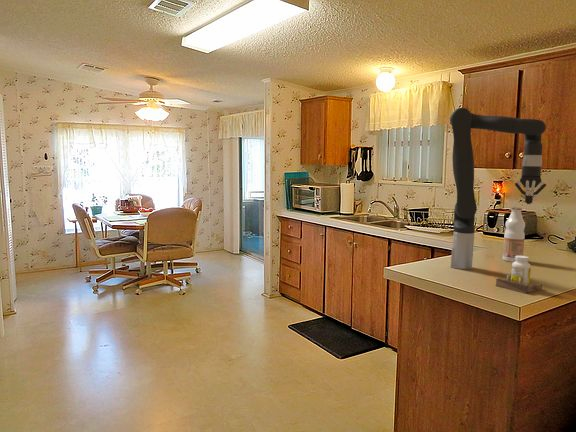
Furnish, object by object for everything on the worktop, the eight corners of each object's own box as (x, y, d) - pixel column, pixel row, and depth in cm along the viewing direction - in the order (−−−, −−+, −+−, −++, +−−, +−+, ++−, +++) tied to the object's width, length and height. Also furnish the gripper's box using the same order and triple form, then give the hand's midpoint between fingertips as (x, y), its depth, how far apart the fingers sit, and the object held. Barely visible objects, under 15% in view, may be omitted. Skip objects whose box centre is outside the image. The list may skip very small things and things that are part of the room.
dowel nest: (512, 281, 177) (513, 270, 177) (541, 289, 167) (542, 276, 167) (495, 285, 171) (496, 273, 170) (525, 293, 161) (526, 280, 160)
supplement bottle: (523, 285, 172) (525, 255, 171) (532, 290, 166) (535, 258, 164) (507, 285, 172) (509, 254, 171) (515, 290, 166) (518, 258, 164)
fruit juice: (498, 259, 221) (502, 207, 217) (508, 257, 226) (512, 206, 223) (516, 263, 213) (521, 208, 210) (526, 261, 218) (530, 207, 215)
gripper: (515, 165, 188) (512, 203, 190) (549, 165, 182) (546, 205, 184) (515, 165, 194) (512, 202, 196) (548, 165, 188) (544, 204, 190)
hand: (528, 203), depth 190 cm, fingers closed
